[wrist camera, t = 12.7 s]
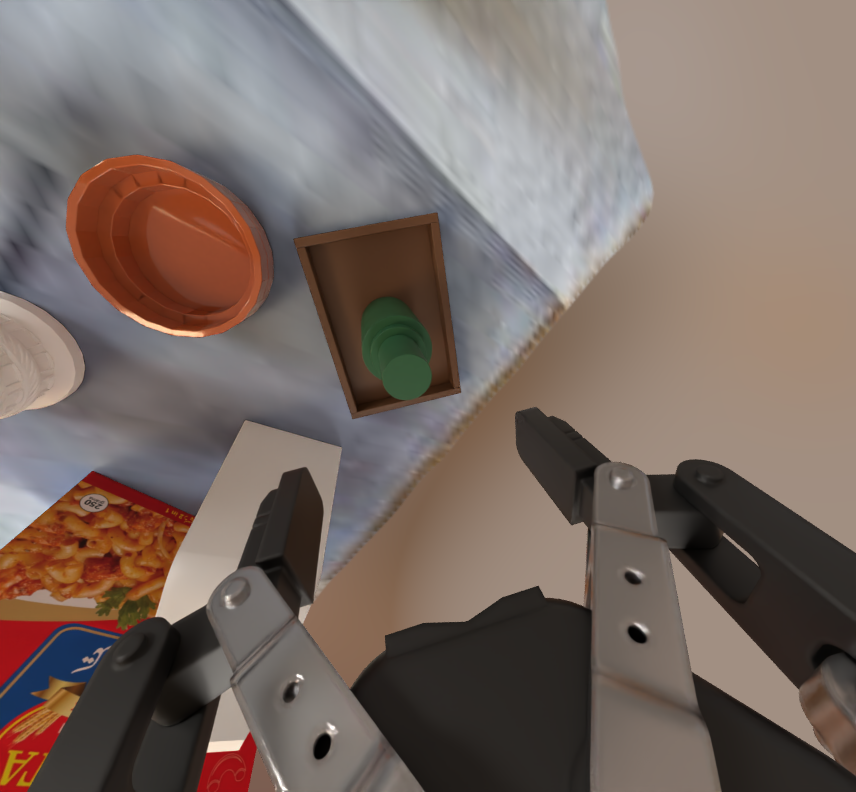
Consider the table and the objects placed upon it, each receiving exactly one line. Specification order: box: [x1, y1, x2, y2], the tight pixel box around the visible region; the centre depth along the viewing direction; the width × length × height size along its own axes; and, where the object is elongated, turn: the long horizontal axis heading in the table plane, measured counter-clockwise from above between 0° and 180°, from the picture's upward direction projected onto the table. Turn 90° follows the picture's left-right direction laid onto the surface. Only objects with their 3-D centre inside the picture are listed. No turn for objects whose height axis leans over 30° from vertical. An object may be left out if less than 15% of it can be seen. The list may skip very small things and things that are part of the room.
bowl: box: [66, 155, 274, 338], centre depth 27 cm, size 13×13×5 cm
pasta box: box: [0, 471, 257, 792], centre depth 31 cm, size 28×8×28 cm, turn 42°
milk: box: [155, 420, 342, 752], centre depth 30 cm, size 12×12×26 cm
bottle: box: [361, 297, 432, 400], centre depth 28 cm, size 6×6×16 cm
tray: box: [293, 213, 461, 419], centre depth 35 cm, size 20×14×3 cm
